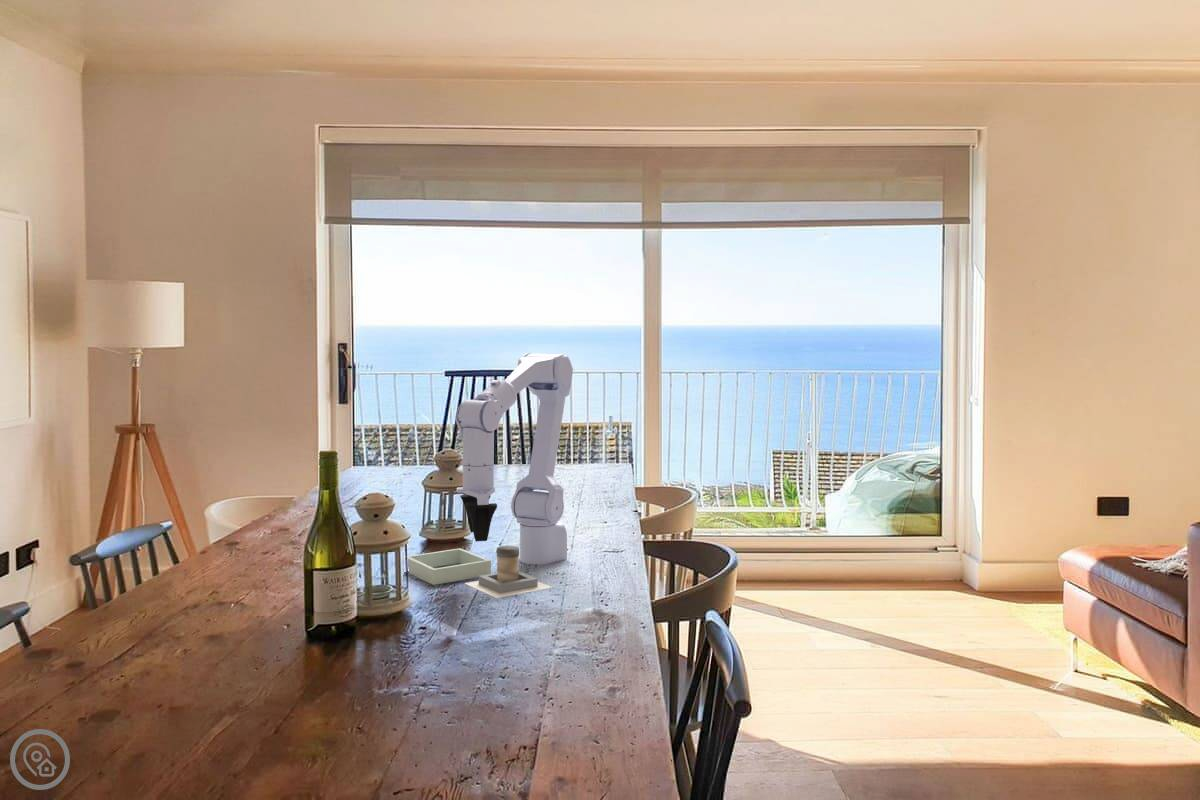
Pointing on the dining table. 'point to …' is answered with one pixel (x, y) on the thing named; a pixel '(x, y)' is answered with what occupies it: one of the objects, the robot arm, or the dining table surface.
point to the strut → (507, 563)
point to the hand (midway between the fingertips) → (478, 536)
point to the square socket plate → (507, 585)
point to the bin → (467, 569)
